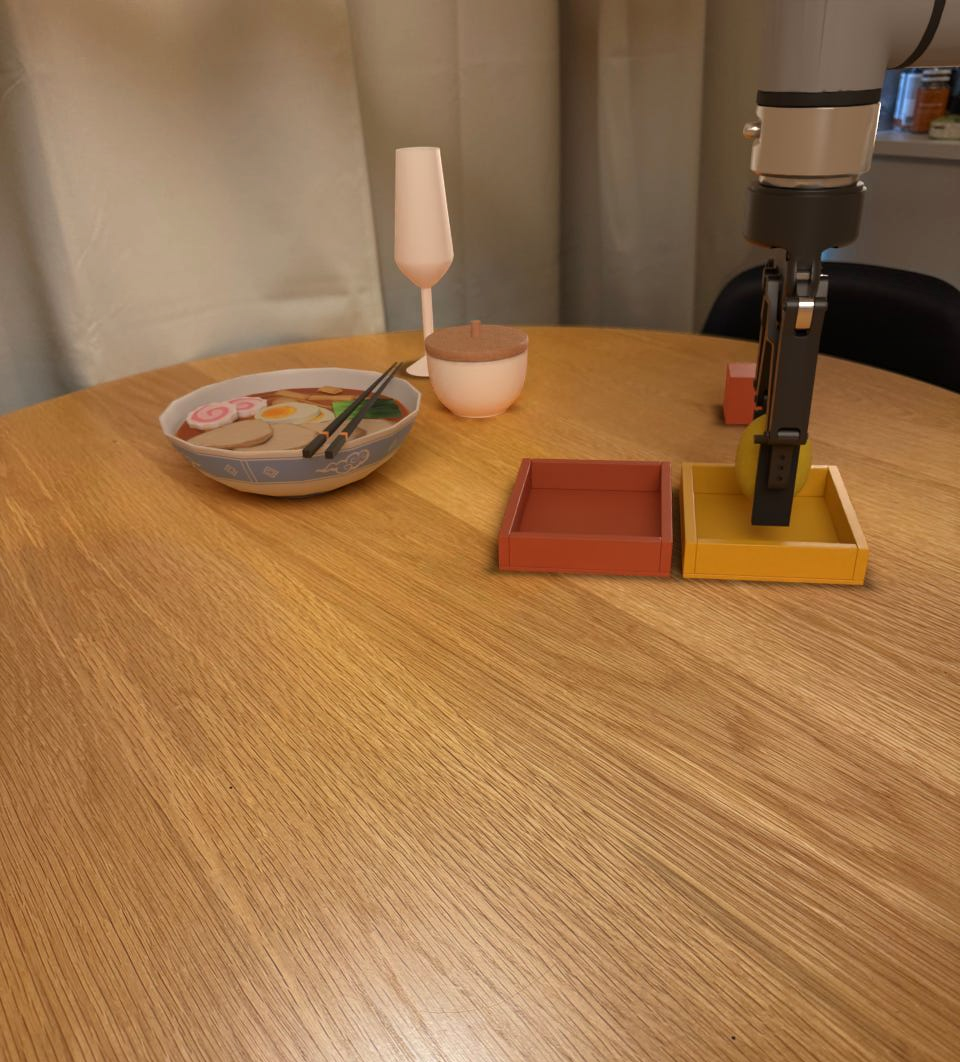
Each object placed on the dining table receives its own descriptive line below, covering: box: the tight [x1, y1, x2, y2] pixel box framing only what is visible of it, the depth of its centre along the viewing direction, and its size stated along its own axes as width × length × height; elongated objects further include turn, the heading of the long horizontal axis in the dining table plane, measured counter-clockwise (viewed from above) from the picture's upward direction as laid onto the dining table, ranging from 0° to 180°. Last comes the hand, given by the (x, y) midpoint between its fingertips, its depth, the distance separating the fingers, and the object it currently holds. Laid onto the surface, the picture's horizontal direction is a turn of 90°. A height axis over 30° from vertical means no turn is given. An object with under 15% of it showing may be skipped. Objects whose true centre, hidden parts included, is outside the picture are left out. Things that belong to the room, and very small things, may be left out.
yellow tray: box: [679, 461, 871, 586], centre depth 78 cm, size 13×16×3 cm
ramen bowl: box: [157, 361, 422, 499], centre depth 89 cm, size 25×23×8 cm
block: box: [722, 362, 761, 425], centre depth 101 cm, size 5×5×5 cm
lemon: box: [734, 414, 813, 501], centre depth 76 cm, size 6×6×8 cm
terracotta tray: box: [497, 457, 674, 578], centre depth 80 cm, size 13×16×3 cm
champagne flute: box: [393, 146, 455, 377], centre depth 114 cm, size 7×7×24 cm
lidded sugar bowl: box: [423, 319, 530, 419], centre depth 105 cm, size 11×11×9 cm
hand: (766, 506), depth 77 cm, fingers closed on lemon, 5 cm apart
